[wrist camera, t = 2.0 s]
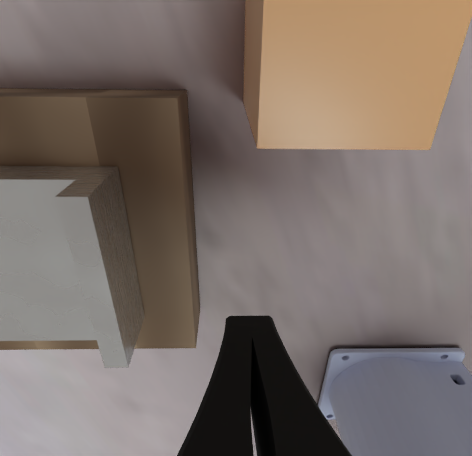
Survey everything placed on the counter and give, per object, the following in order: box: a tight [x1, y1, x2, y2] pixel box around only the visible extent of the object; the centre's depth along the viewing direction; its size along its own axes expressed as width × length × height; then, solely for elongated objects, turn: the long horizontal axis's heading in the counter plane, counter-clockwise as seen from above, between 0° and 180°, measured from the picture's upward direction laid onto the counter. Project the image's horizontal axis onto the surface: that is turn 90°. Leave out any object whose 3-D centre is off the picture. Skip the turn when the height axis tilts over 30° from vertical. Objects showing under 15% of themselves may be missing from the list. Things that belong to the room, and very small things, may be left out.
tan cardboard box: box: [243, 0, 472, 150], centre depth 10 cm, size 4×4×8 cm
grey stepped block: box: [0, 166, 145, 368], centre depth 13 cm, size 7×8×3 cm
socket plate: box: [0, 88, 200, 350], centre depth 15 cm, size 12×13×3 cm
